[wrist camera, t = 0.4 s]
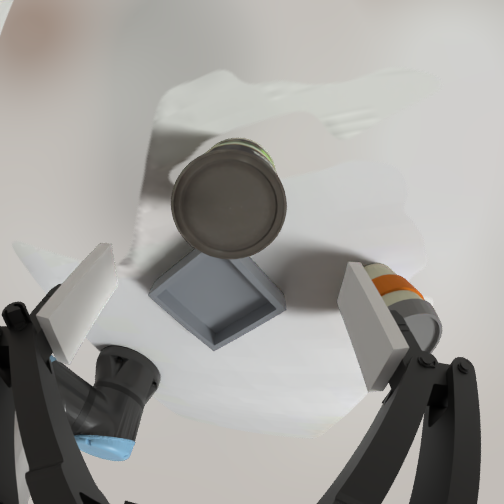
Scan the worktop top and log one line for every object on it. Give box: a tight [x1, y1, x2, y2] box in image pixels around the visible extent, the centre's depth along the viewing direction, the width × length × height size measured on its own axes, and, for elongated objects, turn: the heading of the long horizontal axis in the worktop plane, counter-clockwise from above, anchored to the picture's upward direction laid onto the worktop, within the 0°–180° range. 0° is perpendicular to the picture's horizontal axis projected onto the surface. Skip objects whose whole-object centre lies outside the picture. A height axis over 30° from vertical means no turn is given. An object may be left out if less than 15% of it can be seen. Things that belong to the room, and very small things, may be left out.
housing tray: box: [148, 249, 286, 351], centre depth 44 cm, size 15×15×4 cm
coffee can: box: [171, 138, 287, 260], centre depth 31 cm, size 10×10×14 cm
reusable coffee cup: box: [364, 263, 442, 354], centre depth 39 cm, size 12×13×15 cm
